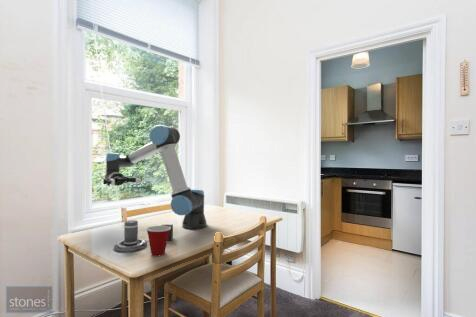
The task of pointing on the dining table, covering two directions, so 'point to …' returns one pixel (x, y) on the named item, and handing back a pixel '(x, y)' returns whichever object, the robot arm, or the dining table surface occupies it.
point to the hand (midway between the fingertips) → (127, 182)
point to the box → (169, 232)
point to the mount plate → (121, 248)
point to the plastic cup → (158, 239)
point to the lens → (130, 233)
